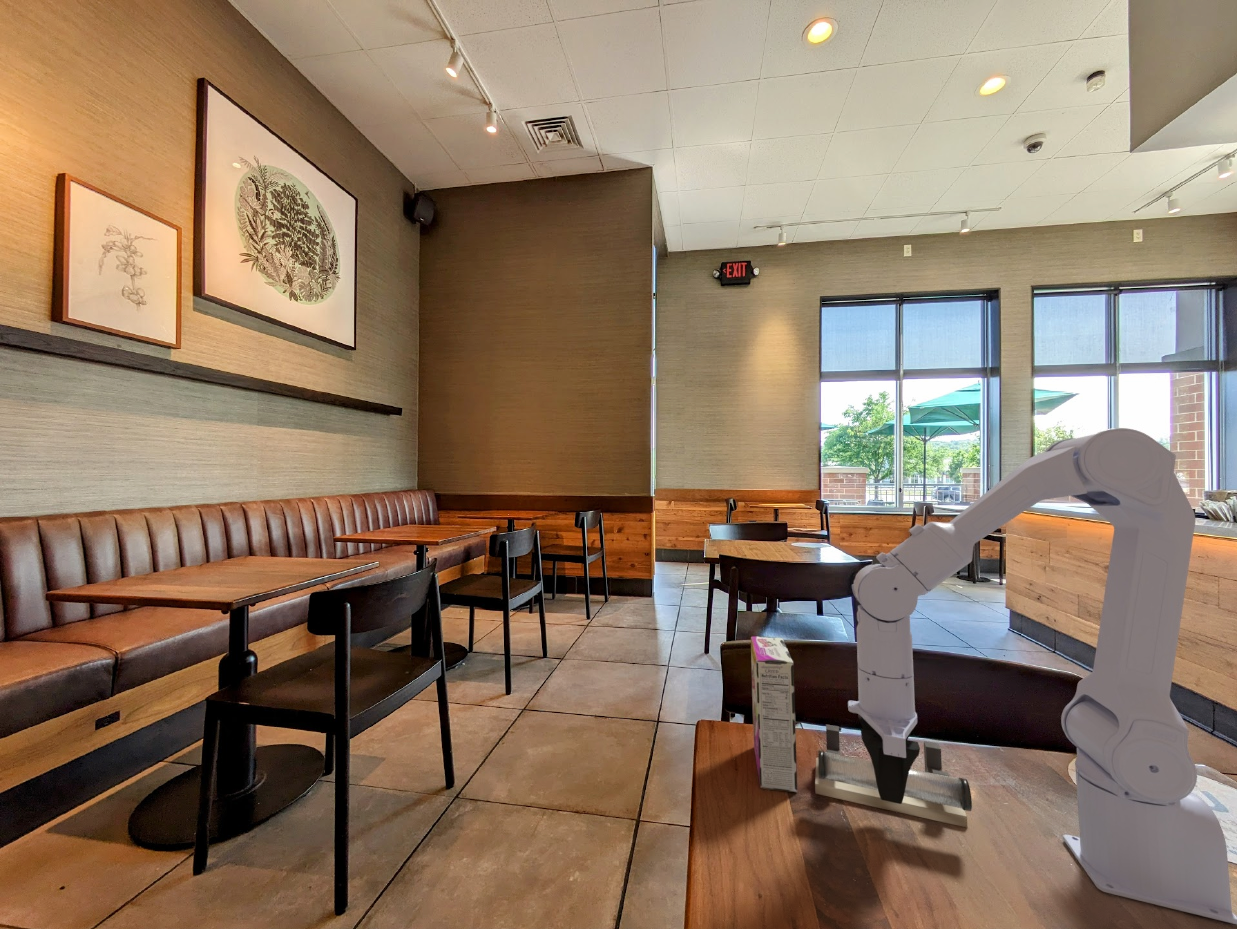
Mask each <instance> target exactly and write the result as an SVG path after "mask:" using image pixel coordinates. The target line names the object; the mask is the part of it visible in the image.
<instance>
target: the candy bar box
mask: <svg viewBox="0 0 1237 929" xmlns="http://www.w3.org/2000/svg"><path fill="white" fill-rule="evenodd" d="M750 652H751V654H750V655H751V656H750V658H751V661H750V662H751V697H752V724H753V725H752V728H753V747H754V748H753V749H754V755H755V761H756V767H757V775H758V782H759V787H760V789H763V790H770V791H780V792H789V793H798V791H799V790H798V766H797V765H798V764H797V760H798V759H797V736H796V735H797V733H796V732H797V729H796V708H795V707H796V703H795V682H794V681H795V678H794V674H795V673H794V672H795V671H794V660H793V659H792V657H791V654H790V652H789V650H788V647H787V645H786V643H785V640H784V639H783V638H781V637H774V636H773V637H770V636H759V635H757V636H751V637H750Z"/></svg>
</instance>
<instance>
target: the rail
mask: <svg viewBox="0 0 1237 929" xmlns="http://www.w3.org/2000/svg"><path fill="white" fill-rule="evenodd" d="M817 755H818V757H817V758H818V769H819V779H828V780H833V781H837V782H842V783H847V784H851V785H856V786H860V787H865V788H870V789H874V790H878V788H877V783H876V777H875V772H874V767H873V763H872V760H868V759H861V758H856V757H852V756H847V755H842V754H840V755H838V754H833V753H828V752H826V751H824V750H822V749H818V754H817ZM949 776H950V775H949ZM949 776H944V775H939V774H934V773H929V772H925V770H924V771H923V770H918V769H913V768H910V771H909V774H908V778H907V783H906V788H905V793H904V796H906V797H911V798H916V799H920V800H925V801H929V802H934V803H939V804H943V805H948V806H952V807H957V808H961V809H963V810H964V811H965V812H971V811H972V808H973V800H972V793H971V792H972V791H971V787H970V784H969V781H968V779H967V778H964V777H958V778H957V777H953V776H950V777H949Z"/></svg>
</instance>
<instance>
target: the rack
mask: <svg viewBox="0 0 1237 929" xmlns="http://www.w3.org/2000/svg"><path fill="white" fill-rule="evenodd" d="M839 727H840V726H838V725H834V724H833V725H830V724H825V731H826V732H825V738H826V751H825V752H828V753H833V754H838V755H841V750H840V749H841V748H840V728H839ZM923 755H924V772H929V773H934V774H939V775H944V776H949V777H951V775H950V774H949V772H947V771H943V765H942V748H941V745H940V744H939V743H938V742H932V741H927V740H923ZM814 787H815V788H814V790H815V795H820V796H824V797H828V798H829V797H830V798H834V799H839V800H842V801H848V802H851V803H856V804H861V805H865V806H869V807H874V808H878V809H882V810H887V811H892V812H895V813H896V812H897V813H902V814H905V815H909V816H915V817H919V818H923V819H927V820H932V821H937V822H940V823H944V824H948V825H949V824H950V825H955V826H958V827H963V828H966V829H967V828H968V815H967V814H966V810H963V809H961V808H957V807H952V806H948V805H943V804H939V803H934V802H929V801H925V800H920V799H916V798H911V797H906V796H904V798H903V801H902V804H898V803H893V802H889V801H884V800H881V798H880V795H879V792H878V790H874V789H870V788H865V787H860V786H856V785H851V784H847V783H842V782H837V781H833V780H828V779H819V769H818V757H816V758H815V780H814Z"/></svg>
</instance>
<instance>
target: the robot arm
mask: <svg viewBox="0 0 1237 929" xmlns="http://www.w3.org/2000/svg"><path fill="white" fill-rule="evenodd" d="M1176 458H1177V455H1176V454H1175V453H1173V452H1172V451H1171V450H1169V449H1168V448H1167V447H1165V446H1163V444H1161V443H1160V442H1158V441H1157V440H1155V439H1154V438H1153V437H1151V436H1150V435H1148V434H1146V433H1144V432H1142V431H1141V430H1140V431H1139V430H1137V429H1132V428H1126V427H1115V428H1109V429H1105V430H1102V431H1101V430H1100V431H1099V432H1097V433H1094V434H1089V435H1084V436H1081V437H1076V438H1074V437H1070V438H1064V439H1061V440H1058V441H1056V442H1054V443H1053V444H1051V445H1050V446H1048V447H1047V448H1046V449H1045V450H1044V451H1043V452H1038V453H1037V454H1035V455H1033V456H1032V457H1029V458H1028V459H1026V460H1025V461H1024V462H1022V463H1021V464H1020V465H1018V466H1017V467H1016V468H1015V469H1013V470H1012V471H1011V472H1009V474H1007V475H1006V476H1005V477H1003V478H1002V479H1001V480H999V482H998V483H996V484H995V485H993V486H992V487H991V488H990V489H989V490H987V491H986V492H984V494H982V495H981V496H980V497H979V498H978V499H976V500H974V502H973V503H971V504H970V505H969V506H968V507H966V508H965V509H964V510H962V511H961V512H960V513H959V514H958V515H956V516H955V517H954V518H953V519H951V520H950V521H949V522H939V521H938V522H937V521H929V522H927V523H926V524H925V525H924V526H922V524H918V523H917V524H915V525H914V526H912V527H911V528H909V529H908V533H910V534H911V535H910V536H909V537H907V538H906V539H905V540H904V541H901V543H900V544H898V545H897V546H896V547H894V548H893V549H891V550H890V551H889V552H887V553H885V552H880V553H879V554H877V555H876V557H875V558H876V559H877V561H879V563H875V564H868V565H865V566H864V567H863V568H861V569H860V570H858V572H857V573H856V574H855V577H854V579H853V584H851V589H852V590H851V591H852V593H853V596H854V597H855V599H856V601H857V602H858V603H859V604H858V605H857V612H856V620H857V625H856V650H857V651H856V652H857V653H856V654H857V655H856V656H857V657H856V658H857V683H858V684H857V687H858V688H857V689H858V690H857V691H858V700H857V701H856V700H848V701H847V708H848V711H849V712H850V713H853V714H858V721H859V723H860V725H861V727H862V728H861V729H860V736H861V740H862V742H863V744H864V745H863V746H864V747H865V749H866V751H867V752H868V754H869V757H870V761H872V763H873V767H874V772H875V777H876V783H877V788H878V792H879V795H880V798H881V800H884V801H889V802H893V803H898V804H902V801H903V798H904V793H905V788H906V783H907V778H908V774H909V771H910V769H912V766H913V765H914V762H915V761H916V759H917V758H918V757H919V755H920V752H921V748H920V747H921V746H920V745H919V742H918V741H915V740H910V739H909V738H910V736H911V734H912V732H913V730H914V728H915V727H916V725H917V724H918V713H917V712H916V705H915V704H916V702H915V680H914V677H915V675H914V659H913V658H914V656H913V653H914V652H913V634H912V632H911V615H912V614H913V613H914V612H915V610H916V608H917V605H918V601H919V600H918V598H919V597H920V596H926V595H927V594H928V593H929V592H931V591H933V590H934V589H935V588H937V587H938V586H939V585H941V584H942V583H944V582H945V581H946V580H948V579H949V578H950V577H952V576H953V575H955V574H956V573H957V572H959V571H960V570H962V569H963V568H965V567H966V566H967V565H969V564H970V563H971V562H973V556H974V555H973V553H974V546H975V544H977V543H978V542H980V541H981V540H983V539H984V538H985V537H987V536H989V535H990V534H992V533H993V532H995V531H997V529H999V528H1002V526H1004V525H1006V524H1007V523H1008V522H1010V521H1011V520H1014V519H1015V518H1016V517H1018V516H1019V515H1021V514H1022V513H1024V512H1025V511H1027V510H1029V509H1030V508H1031V507H1033V506H1035V505H1036V504H1038V503H1040V502H1041V501H1044V500H1051V499H1057V498H1058V499H1059V498H1065V497H1072V498H1075V499H1077V500H1079V501H1082V502H1083V503H1086V504H1087V505H1088V506H1090V508H1092V509H1093V510H1094V511H1095V512H1097V513H1098V514H1099V515H1100V516H1101V517H1102V518H1104V519H1105V520H1106V521H1107V522H1108V523H1109V524H1110V525H1112V526H1113V536H1112V542H1111V549H1110V555H1109V561H1108V568H1107V575H1106V581H1105V582H1106V583H1105V588H1104V595H1103V596H1104V597H1103V603H1102V609H1101V615H1100V621H1099V629H1098V636H1097V641H1096V647H1095V648H1096V649H1095V656H1094V662H1093V667H1092V668H1093V669H1092V672H1090V673H1089V674H1088V675H1086V676H1085V677H1083V678H1082V679H1081V680H1079V681H1078V683H1077V686H1076V692H1075V694H1074V696H1073V698H1072V699H1071V701H1070V702H1069V703H1067V705H1065V707H1064V708H1063V710H1062V713H1061V718H1060V720H1061V727H1062V731H1063V732H1064V734H1065V736H1066V738H1067V739H1068V740H1069V742H1071V743H1072V745H1074V746H1075V747H1076V754H1077V755H1076V759H1075V762H1074V765H1075V780H1076V781H1075V783H1076V798H1077V812H1078V814H1077V815H1078V816H1077V818H1078V828H1079V830H1078V831H1079V836H1074V835H1071V834H1063V835H1062V840H1063V841H1064V842H1065V844H1066V845H1067V847H1068V849H1070V851H1071V853H1072V854H1073V855H1074V857H1075V858H1076V859H1077V861H1078V863H1079V864H1080V865H1081V867H1082V868H1083V870H1084V871H1085V872H1086V874H1087V875H1088V877H1089V878H1090V880H1091V881H1092V883H1093V884H1094V885H1095V887H1096V888H1097V889H1098V890H1100V891H1102V892H1104V893H1108V894H1111V895H1115V896H1120V897H1123V898H1126V899H1131V900H1136V901H1140V902H1144V903H1148V904H1151V905H1152V904H1153V905H1156V906H1160V907H1163V908H1168V909H1171V910H1172V909H1173V910H1176V911H1180V912H1185V913H1188V914H1192V915H1197V916H1201V917H1205V918H1207V919H1214V920H1217V921H1222V922H1225V923H1230V924H1233V925H1237V915H1236V914H1235V913H1234V912H1233V909H1232V908H1233V907H1232V906H1233V905H1232V895H1231V884H1230V872H1229V861H1228V859H1229V858H1228V849H1227V841H1226V837H1225V835H1224V831H1223V829H1222V826H1221V824H1220V822H1219V819H1218V817H1217V816H1216V814H1215V812H1214V810H1213V809H1212V808H1211V806H1210V805H1209V804H1208V802H1206V801H1205V800H1204V799H1203V798H1202V797H1200V796H1199V795H1198V794H1195V793H1193V790H1195V787H1196V784H1197V781H1198V771H1197V768H1196V765H1195V762H1194V760H1193V758H1192V756H1191V754H1190V751H1189V746H1188V745H1189V742H1188V741H1189V740H1188V739H1189V734H1190V731H1189V728H1188V726H1187V723H1186V722H1185V721H1184V719H1183V718H1182V716H1181V714H1180V713H1179V710H1178V709H1177V708H1176V706H1175V704H1174V703H1173V700H1172V699H1171V696H1170V695H1171V689H1172V681H1173V675H1174V668H1175V662H1176V655H1177V647H1178V641H1179V636H1180V635H1179V634H1180V629H1181V628H1180V627H1181V620H1182V615H1183V608H1184V601H1185V600H1184V599H1185V593H1186V588H1187V580H1188V574H1189V566H1190V559H1191V554H1192V548H1193V547H1192V546H1193V540H1194V534H1195V526H1196V514H1195V511H1194V510H1193V509H1194V508H1193V507H1192V505H1191V503H1190V501H1189V498H1188V497H1187V495H1186V493H1185V491H1184V489H1183V487H1182V486H1181V484H1180V481H1179V479H1178V478H1177V476H1176V473H1175V465H1176V460H1177V459H1176Z"/></svg>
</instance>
